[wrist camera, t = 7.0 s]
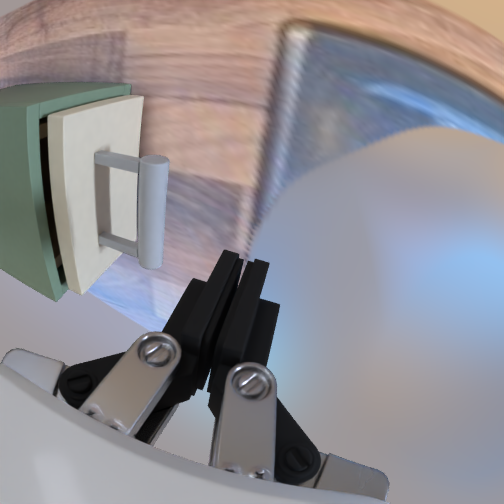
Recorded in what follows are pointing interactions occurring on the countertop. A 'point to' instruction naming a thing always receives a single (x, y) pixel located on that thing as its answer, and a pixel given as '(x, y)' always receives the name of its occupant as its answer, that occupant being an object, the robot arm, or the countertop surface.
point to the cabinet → (34, 177)
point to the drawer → (101, 189)
